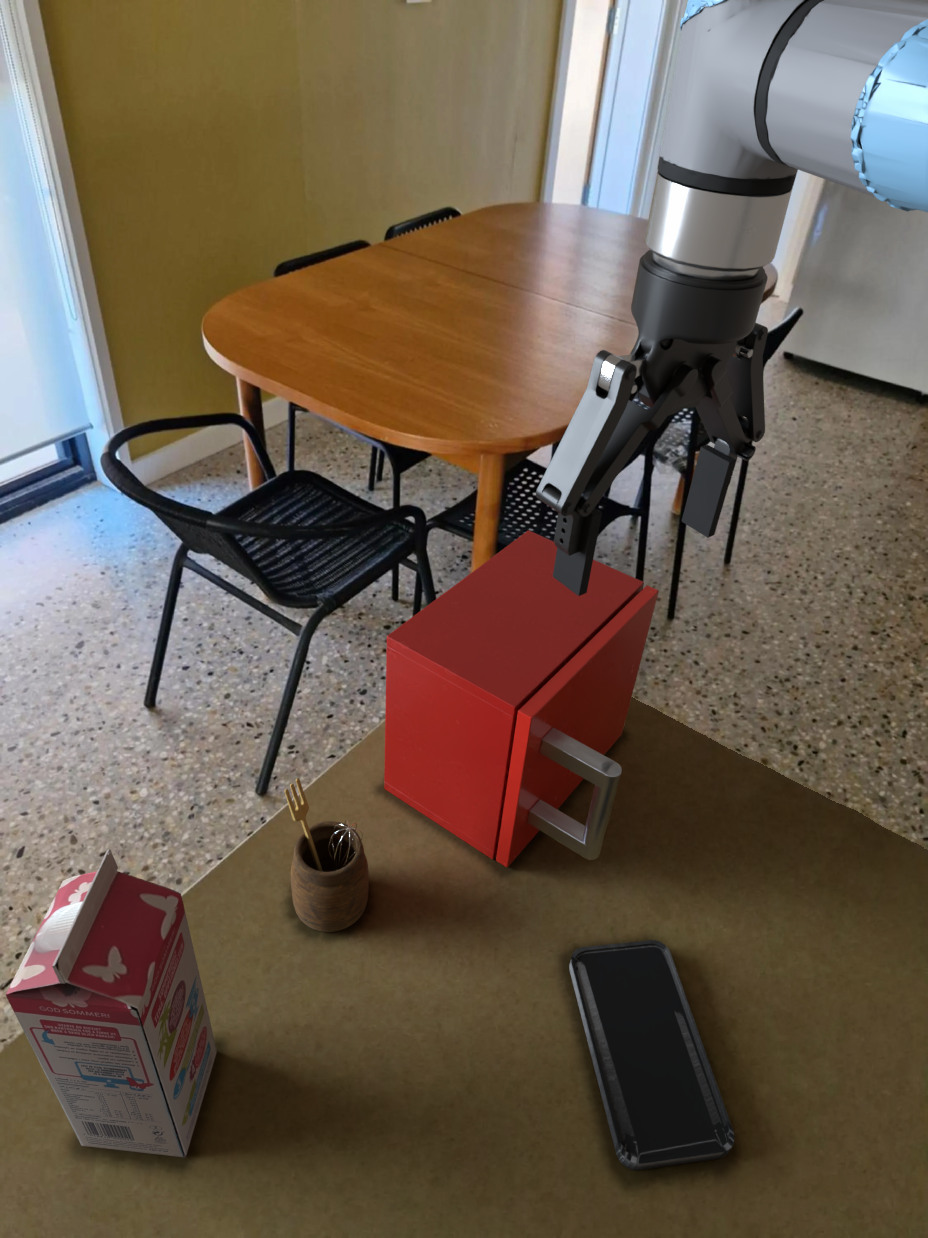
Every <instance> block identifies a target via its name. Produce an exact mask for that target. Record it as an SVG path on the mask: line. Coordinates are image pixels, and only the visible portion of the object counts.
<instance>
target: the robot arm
mask: <svg viewBox="0 0 928 1238" xmlns="http://www.w3.org/2000/svg"><path fill="white" fill-rule="evenodd" d="M679 24H680V25H679V29H680V38H679V44H678V50H677V54H676V60H675V66H674V72H673V78H672V82H671V87H670V93H669V94H670V95H669V99H668V105H667V111H666V116H665V122H664V126H663V127H664V128H663V134H662V140H661V144H660V151H659V157H658V163H657V172H656V177H655V183H654V187H653V188H654V189H653V193H652V194H653V195H652V200H651V205H650V208H649V209H650V210H649V215H648V219H647V225H646V230H645V235H644V244H645V245H646V246H647V248H648V250H647V251H646V252H645V253H644V254H642V255H641V257H640V258H639V261H638V266H637V272H636V277H635V283H634V289H633V292H632V293H633V294H632V298H631V304H630V311H631V314H632V317H633V319H634V321H635V324H636V327H637V331H638V334H637V337H636V338H637V339H636V341H635V343H634V345H633V348H632V349H631V350H630V353H629V354H625V355H616V354H614V353H613V352H610V351H608V350H605V349H601V350H600V351H599V352H597V354H596V355H595V356H594V359H593V362H592V366H591V370H590V374H589V378H588V382H587V387H586V389H585V391H584V393H583V395H582V397H581V399H580V401H579V403H578V405H577V407H576V409H575V410H574V413H573V415H572V417H571V420H570V422H569V423H568V425H567V427H566V430H565V431H564V434H563V436H562V437H561V440H560V441H559V443H558V446H557V447H556V449H555V452H554V454H553V456H552V458H551V460H550V462H549V464H548V466H547V468H546V470H545V472H544V473H543V476H542V478H541V480H540V482H539V485H538V486H537V488H536V491H535V497H536V498H537V499H538V500H540V502H542V503H544V504H545V505H546V506H548V507H550V508H551V509H552V510H554V511H555V512H556V513H557V518H556V526H555V531H554V538H553V542H554V543H555V546H556V547H557V552H556V559H555V565H554V571H553V577H554V578H555V579H556V580H558V581H559V582H560V583H562V584H563V585H564V586H566V587H567V588H568V589H570V590H571V591H572V592H574V593H575V594H576V595H578V596H581V595H583V594H585V593H587V588H588V583H589V578H590V573H591V568H592V563H593V559H594V557H595V552H596V547H597V542H598V536H599V531H600V526H601V520H602V516H603V512H602V511H601V510H599V509H597V505H598V504H599V503H600V501H601V499H602V498H603V497H604V495H605V494H606V492H608V489H609V488H610V487H611V485H613V482H614V481H615V479H616V478H617V477H618V475H619V474H620V472H621V471H622V470H623V468H624V467H625V465H626V464H627V462H628V461H629V460H630V458H631V457H632V455H633V454H634V453H635V451H636V450H637V449H638V447H639V445H641V443H642V441H643V440H644V438H645V437H646V435H647V434H648V433H649V432H650V431H656V430H657V429H660V427H661V426H662V424H663V423H664V422H665V420H666V419H667V417H669V416H671V415H674V414H676V413H678V412H679V411H681V410H683V409H693V408H695V409H696V412H697V414H698V416H699V417H700V420H701V422H702V425H703V427H704V429H705V432H706V434H707V436H708V438H709V441H710V442H711V444H713V446H711V445H710V444H705V445H702V446H700V449H699V452H698V456H697V460H696V464H695V468H694V472H693V476H692V479H691V483H690V486H689V491H688V495H687V498H686V502H685V507H684V510H683V514H682V518H681V523H683V524H685V525H686V526H688V527H689V528H691V529H692V530H694V531H696V532H698V533H699V534H701V535H702V536H704V537H705V538H708V539H709V538H711V537H713V536H715V535H716V531H717V527H718V523H719V520H720V518H721V517H720V516H721V513H722V510H723V507H724V503H725V500H726V496H727V493H728V489H729V486H730V484H731V481H732V477H733V474H734V471H735V468H736V464H737V461H738V458H740V459H742V460H743V461H745V462H748V461H750V460H751V459H752V458H753V457H754V455H755V454H756V450H757V448H756V446H755V445H753V444H751V443H750V442H754V443H759V442H760V441H761V440H762V439H763V437H764V436H765V433H766V414H765V413H766V412H765V392H764V391H765V388H764V387H765V386H764V385H765V384H764V362H763V361H764V358H763V357H764V353H765V347H766V343H767V340H768V333H769V329H768V327H767V326H766V325H762V324H760V323H758V322H757V318H758V315H759V311H760V308H761V304H762V301H763V296H764V294H765V290H766V286H767V283H768V279H769V278H768V275H767V273H766V270H765V268H764V267H766V266H767V265H769V264H771V263H773V261H774V259H775V257H776V253H777V250H778V245H779V242H780V239H781V235H782V231H783V226H784V223H785V220H786V219H785V218H786V215H787V211H788V208H789V204H790V201H791V196H792V192H793V189H794V185H795V182H796V178H797V175H798V171H801V172H804V173H807V174H810V175H812V176H814V177H817V178H820V179H823V180H826V181H829V182H832V183H834V184H836V185H839V186H843V187H845V188H848V189H850V190H854V191H856V192H860V193H862V194H865V195H868V196H871V197H873V198H875V199H876V200H878V201H880V202H886V203H887V204H888V206H889V207H891V208H894V209H897V210H901V211H903V212H904V211H905V212H911V211H912V212H913V211H920V212H925V213H928V0H687V3H686V7H685V10H684V15H683V17H681V19H680V23H679ZM637 395H638V397H639V401H641V403H642V404H643V405H644V406H646V407H647V408H645V407H643V406H642V405H640V404H637V403H636V402H634V401H633V400H634V398H635V397H636V396H637Z"/></svg>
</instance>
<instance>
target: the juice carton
mask: <svg viewBox="0 0 928 1238" xmlns="http://www.w3.org/2000/svg"><path fill="white" fill-rule="evenodd" d="M118 869H119V866H118V864H117V862H116V859H115V857H114V855H113V851H112V850H111V849H110V848H109V849H106V852H105V854H104V856H103V858H102V860H101V862H100V864H99V866H98V868H97V870H96V871H92V872H87V873H83V874H79V875H74V876H71V877H69V878H66V879H63V880H62V882H61V884H60V886H59V888H58V890H57V892H56V893H55V896H54V898H53V900H52V901H51V903H50V905H49V907H48V909H47V912H46V914H45V915H44V917H43V918H42V922H41V924H40V925H39V927H38V929H37V932H36V933H35V935H34V936H33V939H32V941H31V943H30V945H29V947H28V949H27V951H26V953H25V955H24V957H23V958H22V962H21V963H20V965H19V967H18V969H17V971H16V973H15V975H14V977H13V979H12V980H11V982H10V985H9V987H8V988H7V991H6V992H5V997H6V999H7V1001H8V1003H9V1005H10V1008H11V1009H12V1012H13V1013H14V1015H15V1017H16V1019H17V1021H18V1023H19V1026H20V1027H21V1029H22V1031H23V1033H24V1035H25V1036H26V1038H27V1041H28V1042H29V1045H30V1046H31V1048H32V1050H33V1052H34V1054H35V1057H36V1058H37V1060H38V1062H39V1065H40V1067H41V1069H42V1071H43V1072H44V1074H45V1077H46V1079H47V1080H48V1082H49V1084H50V1087H51V1088H52V1090H53V1092H54V1094H55V1096H56V1099H57V1100H58V1102H59V1104H60V1106H61V1108H62V1110H63V1112H64V1114H65V1116H66V1118H67V1120H68V1122H69V1124H70V1126H71V1129H72V1130H73V1132H74V1134H75V1136H76V1138H77V1140H78V1142H79V1143H80V1146H82V1147H89V1148H99V1149H106V1150H107V1149H108V1150H115V1151H124V1152H125V1151H126V1152H133V1153H141V1154H142V1153H143V1154H151V1155H159V1156H168V1157H169V1156H170V1157H178V1158H187V1154H188V1152H189V1148H190V1145H191V1140H192V1137H193V1134H194V1131H195V1127H196V1124H197V1121H198V1117H199V1113H200V1110H201V1107H202V1103H203V1100H204V1097H205V1093H206V1090H207V1086H208V1083H209V1080H210V1077H211V1073H212V1069H213V1066H214V1063H215V1061H216V1060H215V1059H216V1056H217V1053H218V1051H217V1047H216V1042H215V1037H214V1032H213V1028H212V1023H211V1018H210V1014H209V1010H208V1005H207V1001H206V996H205V992H204V988H203V984H202V979H201V975H200V971H199V966H198V962H197V958H196V954H195V953H196V952H195V948H194V944H193V939H192V937H191V932H190V927H189V922H188V919H187V914H186V910H185V905H184V900H183V897H182V893H181V892H179V891H178V890H174V889H172V888H170V887H167V886H163V885H161V884H157V883H155V882H152V881H149V880H145V879H142V878H139V877H137V876H133V875H132V874H131V875H130V874H128V873H124V872H121V871H118Z"/></svg>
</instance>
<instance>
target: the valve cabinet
mask: <svg viewBox="0 0 928 1238" xmlns="http://www.w3.org/2000/svg"><path fill="white" fill-rule="evenodd" d="M556 552H557V547H556V546H555V543H554V540H551V539H549V538H546V537H544V536H542V535H541V534H538V533H535V532H534V531H531V530H529V529H528V530H526V532H524V533H522V534H521V535H520V536H519V537H517V538H516V539H514V540H513V541H512V542H510V543H509V544H507V546H505V547H504V548H503V549H501V550H500V551H499V552H497V553H495V554H494V555H493V556H492V557H490V558H489V559H488V560H487V561H485V562H484V563H482V564H481V565H480V566H479V567H477V568H476V569H475V570H473V571H472V572H471V573H469V574H468V575H466V576H465V577H464V578H462V579H461V580H460V581H458V582H457V583H455V584H454V585H453V586H452V587H450V588H449V589H448V590H446V591H445V592H444V593H442V594H441V595H440V596H439V597H438V596H437V598H435V600H433V601H432V602H430V603H429V604H427V605H426V606H425V607H424V608H422V609H421V610H420V611H418V612H417V613H416V614H414V615H413V616H411V618H409V619H408V620H406V621H405V622H404V623H402V624H400V626H398V627H397V628H396V629H394V630H392V631H391V632H390V633H389V634H388V635H387V636H386V651H385V652H386V655H385V656H386V658H385V659H386V660H385V663H386V664H385V671H386V672H385V718H384V719H385V720H384V722H385V723H384V773H383V774H384V775H383V776H384V778H383V779H384V780H383V781H384V784H383V787H384V790H385V791H387V792H388V793H390V794H392V795H393V796H394V797H396V798H398V799H399V800H401V801H402V802H403V803H405V804H407V805H408V806H410V807H411V808H413V809H414V810H416V811H417V812H419V813H421V814H422V815H423V816H425V817H426V818H428V819H429V820H431V821H433V822H434V823H436V824H437V825H439V826H440V827H442V828H443V829H445V830H446V831H448V832H450V833H451V834H453V835H454V836H455V837H457V838H459V839H460V840H462V841H463V842H464V843H466V844H468V845H469V846H471V847H473V848H474V849H476V850H477V851H479V852H480V853H482V854H483V855H484V856H486V857H488V858H489V859H491V860H494V859H496V856H497V850H498V843H499V836H500V830H501V823H502V816H503V809H504V803H505V796H506V789H507V782H508V776H509V769H510V762H511V755H512V749H513V742H514V735H515V728H516V722H517V715H518V710H519V709H521V708H522V707H523V706H524V705H525V704H526V703H527V702H528V701H529V700H530V699H531V698H532V697H533V696H534V695H535V694H536V693H537V692H538V691H539V690H540V689H541V688H542V687H543V686H544V685H545V684H546V683H547V682H548V681H549V680H550V679H551V678H552V677H553V676H554V675H555V674H556V673H557V672H558V671H559V670H560V669H561V668H562V667H564V666H565V665H566V664H567V663H568V662H569V661H570V660H571V659H572V658H573V657H574V656H575V655H576V654H577V653H578V652H579V651H580V650H581V649H582V648H583V647H584V646H585V645H586V644H587V643H588V642H589V641H590V640H591V639H592V638H593V637H594V636H595V635H596V634H597V633H598V632H599V631H600V630H601V629H602V628H603V627H604V626H606V625H607V624H608V623H609V622H610V621H611V620H612V619H613V618H614V617H615V616H616V615H617V614H618V613H619V612H620V611H621V610H622V609H623V608H624V607H625V606H626V605H627V604H628V603H629V602H630V601H631V600H632V599H633V598H634V597H635V596H636V595H637V594H638V593H639V592H640V591H641V590H642V589H643V588H644V585H645V582H644V581H643V580H640V579H638V578H636V577H633V576H631V575H629V574H627V573H625V572H622V571H621V570H618V569H616V568H613V567H611V566H609V565H607V564H604V563H602V562H601V561H598V560H595V559H594V558H593V563H592V568H591V573H590V578H589V583H588V588H587V593H585V594H583V595H581V596H578V595H576V594H575V593H574V592H572V591H571V590H570V589H568V588H567V587H566V586H564V585H563V584H562V583H560V582H559V581H558V580H556V579H555V578H554V577H553V571H554V565H555V559H556Z"/></svg>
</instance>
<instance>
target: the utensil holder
mask: <svg viewBox="0 0 928 1238" xmlns="http://www.w3.org/2000/svg"><path fill="white" fill-rule="evenodd" d="M295 784H296V787H297V790H298V792H297V790H296V787H295ZM295 784H294V783H290V784H289V788H290V791H289V789H288V788H285V789H284V795H285V798H286V801H287V805H288V808H289V811H290V815H291V819H292V820H293V821H294V822H300V824H301V826H302V830H303V831H302V833H301V834H300V835H299V836H298V838H297V840H296V842H295V845H294V849H293V859H292V862H291V867H290V886H291V887H290V888H291V896H292V898H291V899H292V904H293V908H294V911H295V913H296V915H297V917H298V918H299V920H300V921H301V922H302V923H303V924H305V926H307V927H309V928H310V929H312V930H315V931H318V932H322V933H333V932H340V931H342V930H345V929H347V928H349V927H350V926H352V925H354V924H355V923H356V922H357V921H358V920H359V919H360V918H361V916H362V915H363V913H364V912H365V910H366V907H367V903H368V900H369V879H370V877H369V863H368V859H367V856H366V853H365V849H364V845H363V836H364V834H363V832H362V831H361V830H360V829H359V828H357V827H358V824H357V823H356V822H355V823H353V824H351V825H350V824H349V821H348V820H345V821H344V823H343V822H339V821H333V820H331V821H329V820H328V821H320V822H317V823H315V824H313V825H311V826H309V825H308V821H307V815H308V813H309V810H310V805H309V803H308V800H307V798H306V795H305V792H304V789H303V786H302V783H301V780H300V778H298V777H297V778H296V779H295ZM290 792H291V793H292V796H291V794H290ZM292 798H293V800H292ZM293 801H294V803H293ZM294 804H295V805H294ZM346 823H347V824H346ZM354 825H355V827H353V826H354ZM357 831H359V832H360V833H361V836H360V835H359V833H358V832H357Z"/></svg>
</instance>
